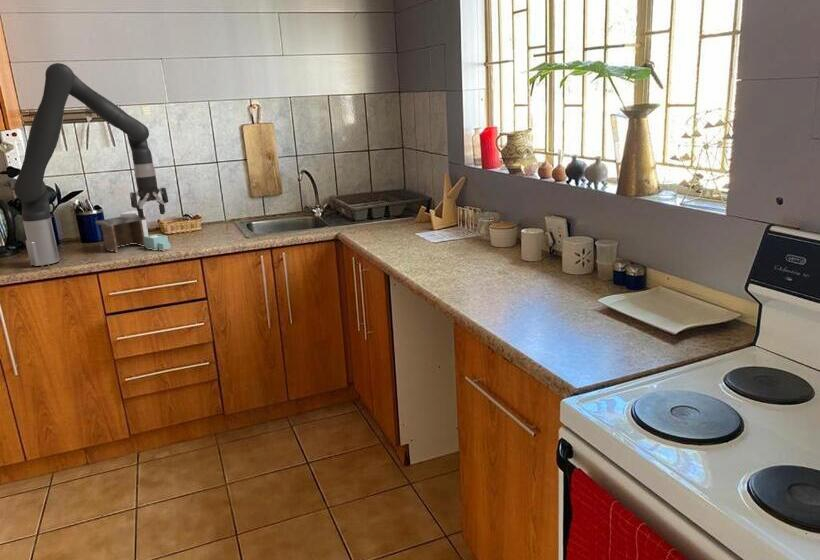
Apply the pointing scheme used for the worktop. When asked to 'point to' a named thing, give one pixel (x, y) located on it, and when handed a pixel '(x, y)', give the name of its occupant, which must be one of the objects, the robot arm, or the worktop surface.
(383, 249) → the worktop surface
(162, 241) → the caddy
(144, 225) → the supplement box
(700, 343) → the worktop surface
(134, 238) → the shelf
